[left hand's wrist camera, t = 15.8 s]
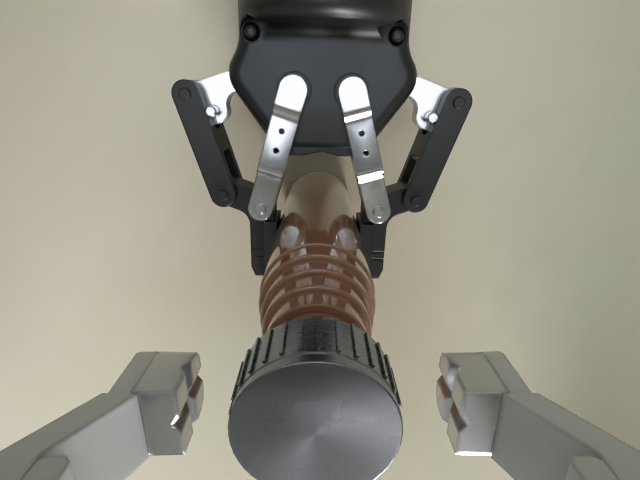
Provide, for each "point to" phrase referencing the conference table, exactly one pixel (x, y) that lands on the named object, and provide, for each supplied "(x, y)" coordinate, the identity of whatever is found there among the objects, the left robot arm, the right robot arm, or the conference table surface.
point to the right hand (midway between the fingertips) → (317, 279)
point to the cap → (315, 404)
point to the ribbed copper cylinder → (317, 259)
